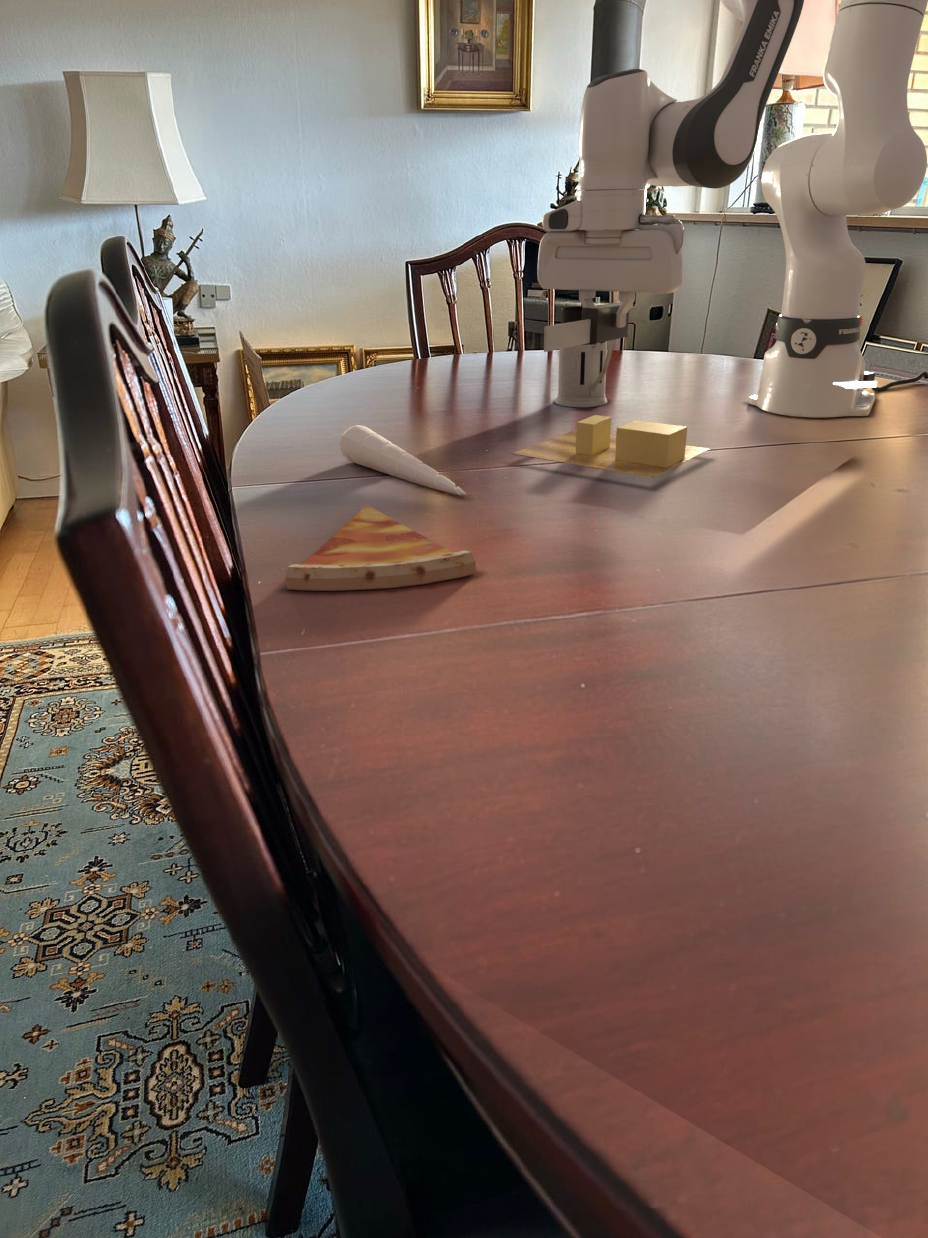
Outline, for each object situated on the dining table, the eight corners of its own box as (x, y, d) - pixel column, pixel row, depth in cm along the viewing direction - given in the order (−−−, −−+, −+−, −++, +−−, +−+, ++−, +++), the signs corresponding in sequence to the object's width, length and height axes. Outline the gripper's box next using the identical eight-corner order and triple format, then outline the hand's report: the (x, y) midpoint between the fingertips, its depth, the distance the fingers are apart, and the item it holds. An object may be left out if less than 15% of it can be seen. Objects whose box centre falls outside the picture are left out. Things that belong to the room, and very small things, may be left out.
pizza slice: (507, 520, 95) (507, 502, 94) (459, 603, 75) (458, 581, 74) (367, 512, 98) (365, 495, 97) (286, 590, 79) (284, 569, 78)
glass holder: (593, 395, 156) (596, 304, 149) (632, 410, 143) (637, 312, 137) (547, 399, 153) (548, 307, 147) (582, 415, 141) (586, 315, 135)
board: (576, 439, 127) (576, 429, 126) (709, 459, 115) (710, 448, 115) (511, 464, 115) (511, 453, 115) (652, 489, 104) (653, 477, 103)
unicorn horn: (438, 505, 100) (437, 463, 98) (339, 463, 118) (336, 426, 116) (473, 497, 102) (472, 456, 100) (370, 457, 120) (368, 421, 118)
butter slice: (593, 445, 117) (594, 414, 116) (609, 447, 116) (611, 416, 115) (575, 453, 114) (576, 422, 112) (592, 455, 112) (593, 424, 111)
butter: (633, 451, 114) (635, 419, 113) (684, 458, 110) (687, 426, 109) (614, 459, 111) (616, 427, 109) (666, 467, 107) (669, 434, 105)
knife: (612, 335, 126) (614, 302, 124) (627, 336, 125) (629, 303, 123) (536, 351, 112) (537, 314, 110) (553, 352, 110) (554, 314, 108)
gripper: (695, 213, 112) (686, 328, 118) (556, 215, 124) (554, 319, 130) (674, 214, 108) (665, 333, 114) (532, 216, 119) (530, 324, 125)
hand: (605, 326), depth 122 cm, fingers closed on knife, 2 cm apart
